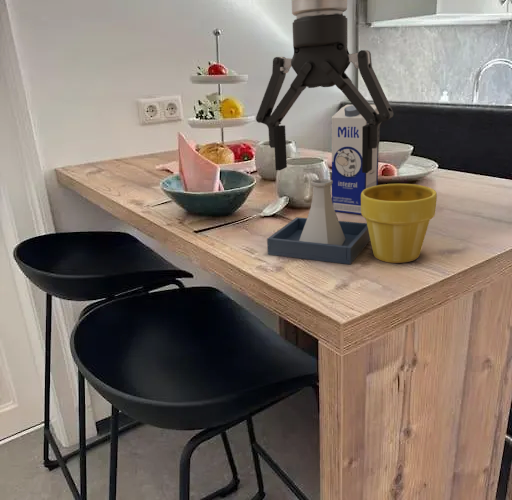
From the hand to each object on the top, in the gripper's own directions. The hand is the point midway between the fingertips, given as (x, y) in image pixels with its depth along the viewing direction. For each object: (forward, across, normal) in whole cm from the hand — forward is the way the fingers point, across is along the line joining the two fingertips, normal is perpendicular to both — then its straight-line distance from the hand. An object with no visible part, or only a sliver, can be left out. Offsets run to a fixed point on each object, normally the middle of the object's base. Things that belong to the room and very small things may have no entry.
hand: (322, 170), depth 76 cm
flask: (+12, 0, 0) cm, 12 cm away
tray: (+12, 0, 0) cm, 12 cm away
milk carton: (+12, +1, -23) cm, 26 cm away
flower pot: (+13, -11, +1) cm, 17 cm away
